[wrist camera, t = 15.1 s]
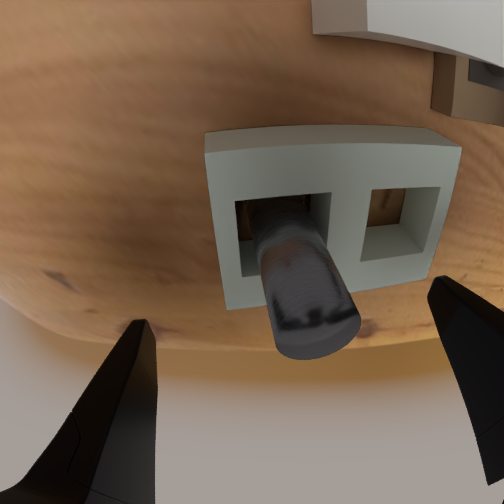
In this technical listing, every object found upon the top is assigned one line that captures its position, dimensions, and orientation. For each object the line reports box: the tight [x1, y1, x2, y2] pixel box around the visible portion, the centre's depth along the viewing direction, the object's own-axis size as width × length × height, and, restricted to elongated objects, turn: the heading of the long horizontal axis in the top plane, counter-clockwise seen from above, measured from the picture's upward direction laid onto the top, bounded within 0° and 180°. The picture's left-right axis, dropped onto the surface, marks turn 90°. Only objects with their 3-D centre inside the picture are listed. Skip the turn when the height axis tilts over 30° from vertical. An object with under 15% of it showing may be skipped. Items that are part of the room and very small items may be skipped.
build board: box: [204, 125, 462, 310], centre depth 13 cm, size 10×7×2 cm
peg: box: [246, 195, 361, 360], centre depth 11 cm, size 2×2×7 cm
